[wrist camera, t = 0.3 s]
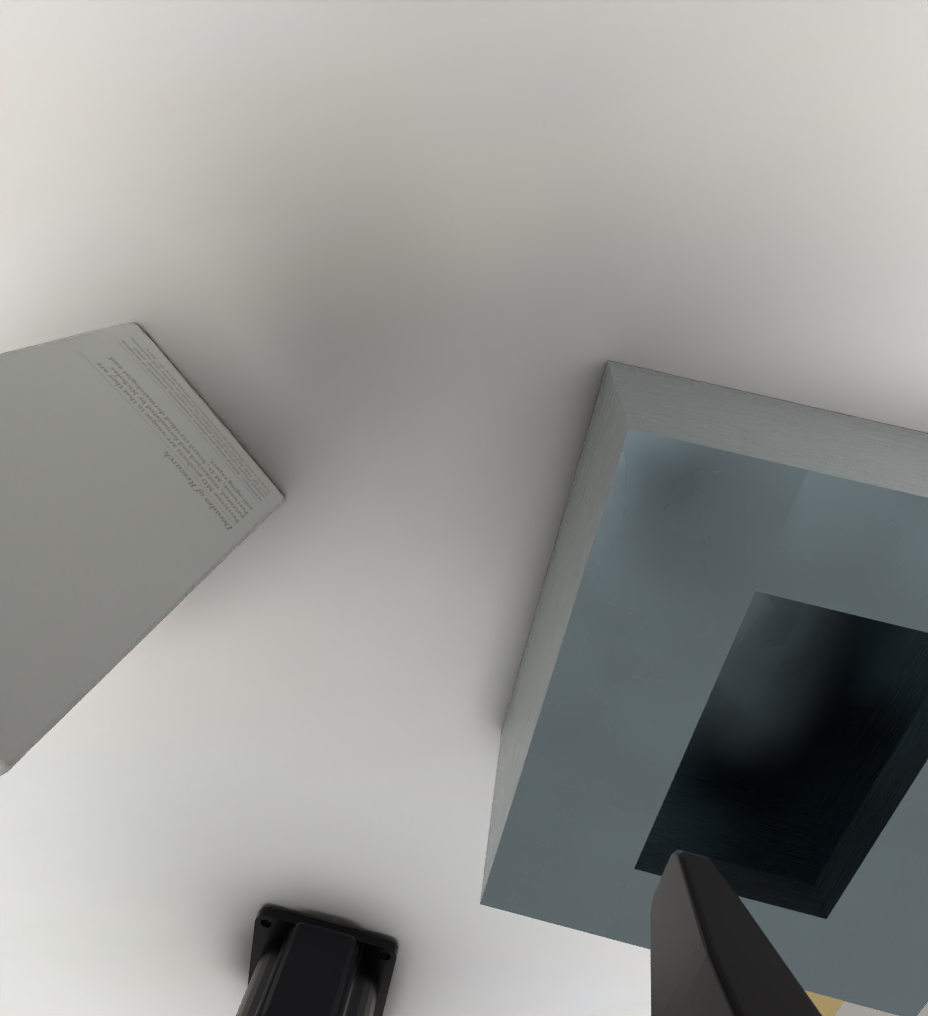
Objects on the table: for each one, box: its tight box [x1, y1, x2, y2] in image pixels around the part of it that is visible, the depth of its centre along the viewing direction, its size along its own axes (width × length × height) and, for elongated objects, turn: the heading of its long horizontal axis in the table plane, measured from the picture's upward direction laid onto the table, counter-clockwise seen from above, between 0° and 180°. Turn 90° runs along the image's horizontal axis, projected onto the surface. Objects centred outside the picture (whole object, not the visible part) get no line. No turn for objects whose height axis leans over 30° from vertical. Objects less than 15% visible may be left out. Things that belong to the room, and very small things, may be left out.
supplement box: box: [0, 323, 284, 776], centre depth 17 cm, size 7×7×13 cm
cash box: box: [480, 361, 928, 1016], centre depth 19 cm, size 14×12×7 cm
